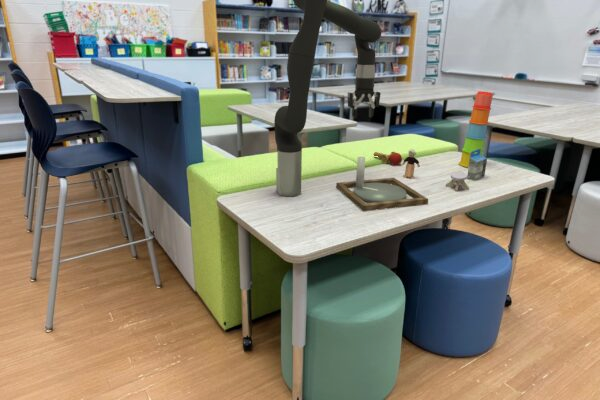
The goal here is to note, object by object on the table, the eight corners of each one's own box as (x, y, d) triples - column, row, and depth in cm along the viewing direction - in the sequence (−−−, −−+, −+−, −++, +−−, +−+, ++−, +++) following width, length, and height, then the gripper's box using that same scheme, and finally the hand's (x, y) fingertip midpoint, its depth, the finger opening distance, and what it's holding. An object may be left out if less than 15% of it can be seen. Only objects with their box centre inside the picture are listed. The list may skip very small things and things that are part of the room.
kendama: (368, 161, 216) (392, 165, 200) (369, 148, 215) (394, 152, 199) (380, 162, 219) (404, 166, 204) (381, 149, 218) (406, 153, 203)
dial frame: (363, 211, 150) (363, 205, 150) (336, 187, 174) (336, 182, 173) (427, 204, 158) (428, 198, 157) (393, 182, 181) (393, 177, 180)
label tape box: (474, 181, 183) (479, 153, 179) (465, 178, 186) (470, 151, 182) (484, 177, 189) (489, 149, 184) (475, 174, 192) (480, 148, 187)
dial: (367, 206, 154) (369, 170, 149) (345, 188, 172) (347, 155, 167) (416, 201, 159) (420, 166, 154) (390, 184, 177) (393, 152, 172)
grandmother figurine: (399, 177, 187) (402, 149, 182) (401, 175, 190) (404, 147, 185) (417, 179, 184) (421, 151, 179) (419, 177, 187) (422, 149, 183)
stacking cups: (462, 161, 212) (473, 89, 200) (483, 164, 207) (496, 91, 194) (455, 166, 204) (466, 92, 192) (477, 169, 199) (490, 93, 186)
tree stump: (449, 182, 181) (451, 169, 179) (471, 186, 176) (473, 173, 174) (442, 188, 174) (444, 175, 172) (465, 193, 169) (467, 179, 167)
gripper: (352, 77, 167) (350, 120, 173) (385, 76, 171) (382, 118, 177) (345, 75, 174) (343, 116, 180) (377, 75, 177) (374, 115, 183)
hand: (362, 117), depth 178 cm, fingers open, 6 cm apart
